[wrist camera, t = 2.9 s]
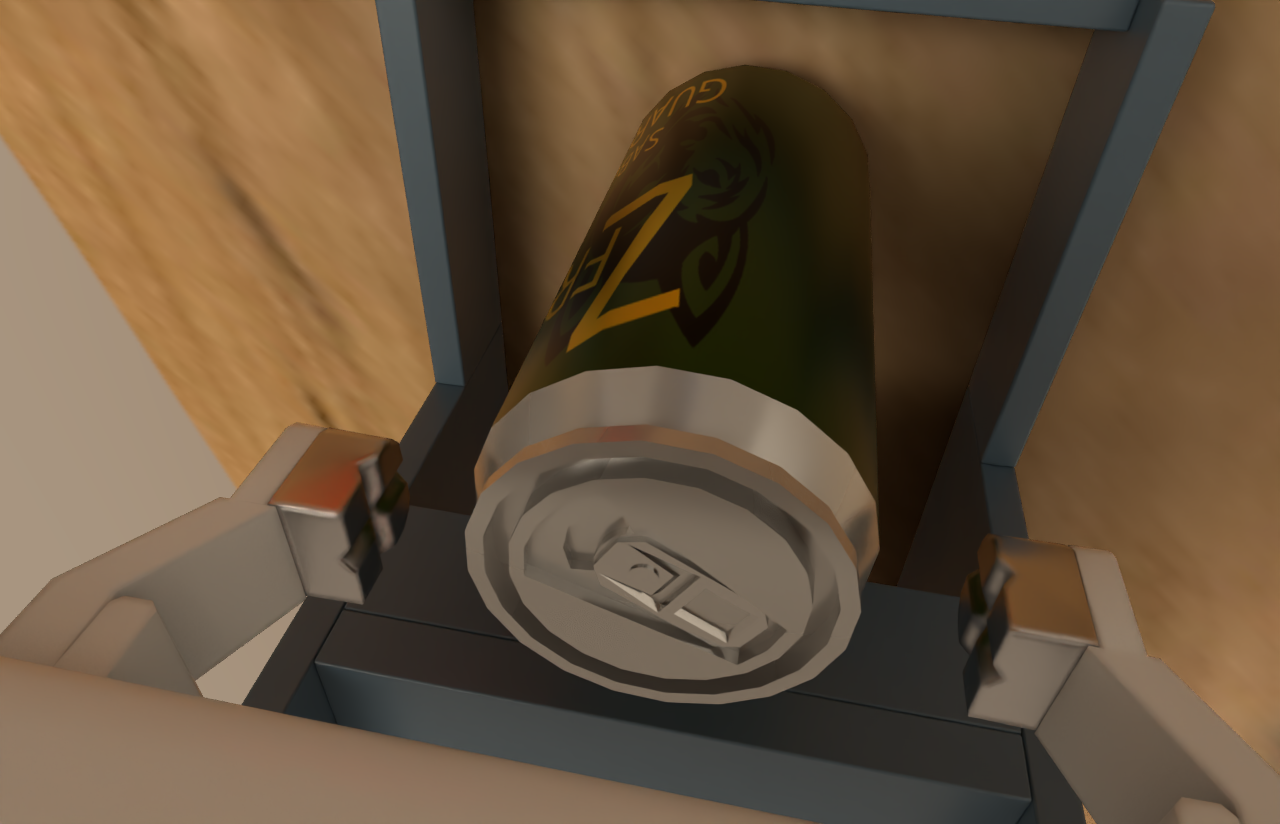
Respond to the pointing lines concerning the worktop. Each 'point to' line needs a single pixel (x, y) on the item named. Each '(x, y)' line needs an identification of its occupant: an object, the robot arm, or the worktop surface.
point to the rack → (890, 616)
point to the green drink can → (698, 410)
